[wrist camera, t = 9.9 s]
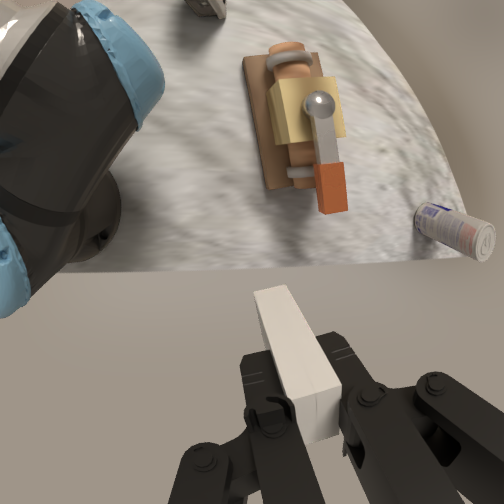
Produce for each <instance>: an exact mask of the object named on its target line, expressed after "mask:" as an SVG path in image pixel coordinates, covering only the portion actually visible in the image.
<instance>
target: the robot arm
mask: <svg viewBox="0 0 504 504" xmlns="http://www.w3.org/2000/svg"><path fill="white" fill-rule="evenodd" d="M164 88H165V80H164V73H163V71H162V68H161V66H160V64H159V62H158V61H157V59H156V57H155V56H154V54H153V53H152V51H151V50H150V49H149V47H148V46H147V45H146V44H145V42H144V41H143V40H142V39H141V37H140V36H139V35H138V34H137V33H136V32H135V31H134V30H133V29H132V28H131V27H130V26H129V25H128V24H127V23H126V22H125V21H124V20H123V19H122V18H120V17H119V16H117V15H116V16H114V14H113V13H112V12H111V11H110V10H109V9H108V8H107V7H106V6H105V5H103V4H101V3H99V2H97V1H95V0H82V1H81V2H79V3H76V4H74V5H73V6H72V8H71V10H69V9H67V8H66V7H64V6H63V5H61V4H60V3H59V2H57V1H55V0H53V1H49V2H45V3H42V4H39V5H35V6H32V7H23V6H21V5H20V4H18V3H16V2H15V1H12V0H0V318H6V317H8V316H10V315H11V314H12V313H13V312H15V311H16V310H17V309H19V308H20V307H23V306H25V305H26V304H27V302H28V301H29V300H30V298H31V296H33V295H34V294H35V293H36V292H37V291H38V290H39V289H40V288H41V287H42V286H43V285H44V284H45V283H46V282H47V281H48V280H49V279H50V278H51V277H52V276H54V275H55V274H56V273H57V272H58V271H59V270H60V269H61V268H62V267H63V266H65V265H66V264H67V263H73V262H81V261H85V260H87V259H90V258H92V257H94V256H95V255H97V254H98V253H99V252H100V251H101V250H103V249H104V248H105V247H106V246H107V245H108V243H109V242H110V241H111V240H112V238H113V236H114V235H115V233H116V230H117V228H118V225H119V221H120V215H121V200H120V194H119V190H118V187H117V184H116V182H115V180H114V178H113V176H112V174H111V173H110V171H109V170H108V169H109V168H110V166H111V165H112V163H113V162H114V160H115V159H116V157H117V156H118V154H119V153H120V152H121V150H122V149H123V147H124V146H125V145H126V143H127V142H128V141H129V139H130V138H131V137H132V135H133V134H134V133H135V131H137V132H138V131H139V130H140V129H141V127H142V125H143V121H144V119H145V118H146V117H147V115H148V114H149V113H150V111H151V110H152V109H153V107H154V106H155V105H156V103H157V102H158V101H159V100H160V98H161V97H162V95H163V92H164ZM253 293H254V298H255V303H256V308H257V313H258V318H259V322H260V327H261V332H262V337H263V341H264V344H265V348H266V351H261V352H257V353H252V354H248V355H244V356H243V359H242V361H241V364H240V370H241V376H242V382H243V388H244V393H245V400H246V408H245V409H244V419H245V422H246V425H247V427H246V429H245V430H244V432H243V433H242V434H241V435H239V436H238V437H237V438H235V439H233V440H231V441H229V442H227V443H225V444H222V445H220V446H219V445H218V444H215V443H210V442H207V443H206V442H205V443H199V444H196V445H194V446H191V447H190V448H189V449H188V450H187V451H185V453H184V455H183V457H182V458H181V462H180V465H179V468H178V471H177V475H176V478H175V481H174V485H173V488H172V492H171V495H170V498H169V502H168V504H247V499H248V495H250V494H252V493H254V492H256V491H258V490H261V494H262V499H263V504H325V501H324V498H323V496H322V493H321V490H320V487H319V484H318V481H317V478H316V476H315V473H314V470H313V467H312V464H311V461H310V459H309V456H308V453H307V450H306V447H305V445H307V444H310V443H314V442H317V441H320V440H323V439H327V438H330V437H332V436H335V435H339V427H340V429H341V431H342V433H343V435H344V443H343V451H342V452H343V457H344V456H346V454H348V456H349V458H350V461H351V463H352V465H353V467H354V469H355V471H356V474H357V476H358V478H359V481H360V483H361V485H362V487H363V489H364V492H365V494H366V496H367V498H368V501H369V503H370V504H465V503H464V501H463V500H462V498H461V497H460V495H459V493H458V492H457V490H458V491H459V492H460V493H461V494H462V495H464V496H465V497H466V498H467V499H468V500H469V501H471V502H472V503H473V504H504V413H503V412H502V411H500V410H498V409H497V408H496V407H494V406H493V405H491V404H490V403H488V402H487V401H485V400H484V399H483V398H481V397H479V396H478V395H477V394H475V393H474V392H472V391H471V390H469V389H468V388H466V387H465V386H464V385H462V384H461V383H459V382H458V381H456V380H455V379H453V378H452V377H450V376H448V375H447V374H445V373H442V372H430V373H427V374H425V375H423V376H421V378H420V379H419V380H418V381H417V384H416V386H410V387H405V388H396V389H392V388H387V387H386V386H385V385H383V384H381V383H378V382H375V381H374V380H373V379H372V377H371V376H370V374H369V373H368V371H367V370H366V368H365V367H364V365H363V364H362V362H361V361H360V360H359V358H358V357H357V355H355V352H354V351H353V350H352V348H350V345H349V344H348V342H347V341H346V340H345V338H344V337H343V336H341V335H339V334H337V333H336V332H334V331H333V332H330V333H326V334H323V335H320V336H316V337H315V336H314V334H313V332H312V331H311V329H310V327H309V325H308V323H307V322H306V320H305V318H304V316H303V315H302V313H301V311H300V309H299V307H298V306H297V304H296V302H295V301H294V299H293V297H292V295H291V293H290V292H289V290H288V288H287V287H286V285H281V286H276V287H272V288H268V289H263V290H259V291H255V292H253ZM456 489H457V490H456Z"/></svg>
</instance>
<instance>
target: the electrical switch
mask: <svg viewBox="0 0 504 504" xmlns="http://www.w3.org/2000/svg"><path fill="white" fill-rule="evenodd" d="M185 1H186V2H187V4H188V5H189V6H190V7H191V8H192V10H193V11H194V12H195V13H196V14H197V16H198V17H202V16H212V15H217V16H218V18H219V19H223V18H226V0H185Z"/></svg>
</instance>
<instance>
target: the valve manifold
mask: <svg viewBox="0 0 504 504" xmlns="http://www.w3.org/2000/svg"><path fill="white" fill-rule="evenodd" d="M242 63H243V67H244V72H245V77H246V82H247V87H248V92H249V97H250V102H251V108H252V113H253V118H254V123H255V128H256V134H257V139H258V145H259V150H260V156H261V161H262V167H263V172H264V178H265V184H266V188H267V189H268V190H272V189H278V188H283V187H289V186H294V188H297V189H307V188H316V182H315V175H314V167H313V164H317V161H316V154H315V147H314V140H313V134H312V127H311V121H310V119H309V118H307V117H306V116H305V115H304V113H303V111H302V107H301V104H302V101H303V99H304V98H305V97H306V96H307V95H309V94H311V93H312V92H314V91H318V90H321V91H325V92H327V93H329V94H330V95H331V96H332V97H333V99H334V101H335V112H334V114H333V120H334V127H335V133H336V138H340V137H346V132H345V126H344V120H343V115H342V109H341V104H340V99H339V94H338V89H337V84H336V79H335V77H323V73H322V69H321V64H320V60H319V56H318V53H310V52H307V51H305V48H304V45H303V44H302V43H299V42H285V43H280V44H276V45H274V46H272V47H270V48H269V54H268V55H257V56H248V57H244V58H243V61H242Z"/></svg>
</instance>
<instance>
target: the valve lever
mask: <svg viewBox="0 0 504 504" xmlns="http://www.w3.org/2000/svg"><path fill="white" fill-rule="evenodd" d="M301 107H302V111H303V113H304V115H305V116H306V117H307V118H309V119H310V121H311V127H312V134H313V140H314V147H315V154H316V161H317V164H313V167H314V175H315V182H316V191H317V200H318V209H319V212H321V213H323V214H325V215H326V214H331V213H337V212H343V211H348V204H347V192H346V182H345V173H344V164H343V162H339V155H338V148H337V140H336V133H335V127H334V120H333V114H334V112H335V101H334V99H333V97H332V96H331V95H330V94H329V93H327V92H325V91H321V90H318V91H314V92H312V93H311V94H309V95H307V96H306V97H305V98H304V99H303V101H302V104H301Z"/></svg>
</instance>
